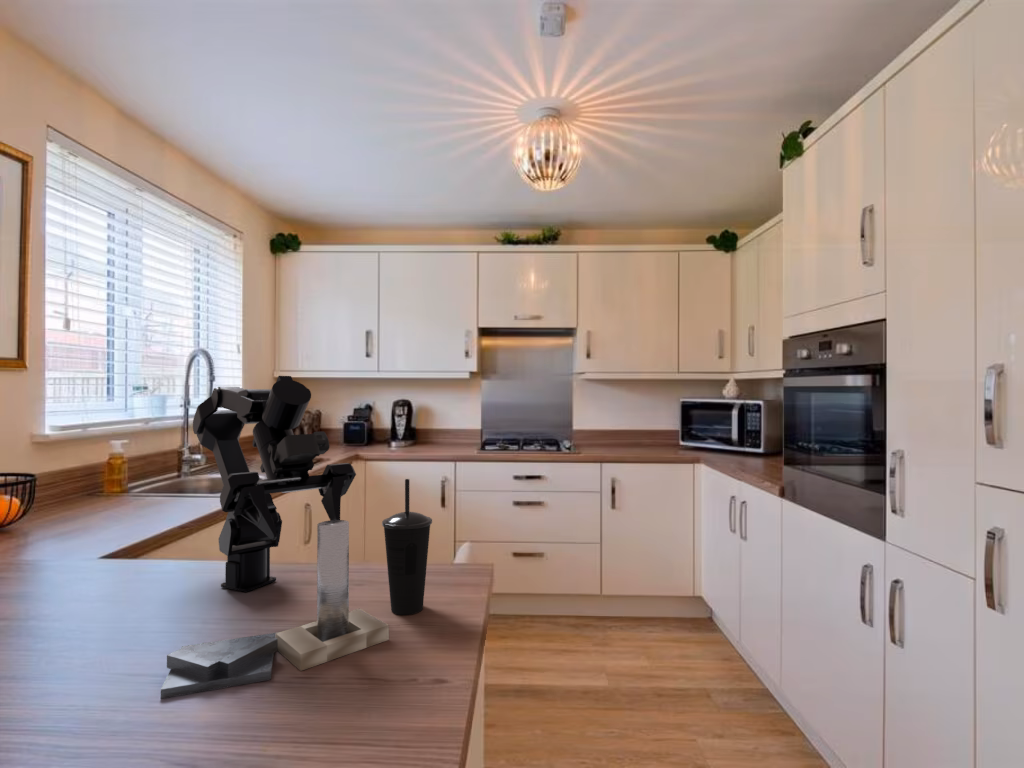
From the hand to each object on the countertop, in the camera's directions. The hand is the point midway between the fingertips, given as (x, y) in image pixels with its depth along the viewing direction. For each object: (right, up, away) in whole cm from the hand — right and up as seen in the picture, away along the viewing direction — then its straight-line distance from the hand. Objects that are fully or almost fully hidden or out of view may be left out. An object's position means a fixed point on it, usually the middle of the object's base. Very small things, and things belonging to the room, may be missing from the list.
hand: (307, 532), depth 78 cm
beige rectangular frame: (+6, -13, -6) cm, 16 cm away
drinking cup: (+13, -14, +6) cm, 20 cm away
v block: (-6, -13, -12) cm, 19 cm away
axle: (+6, -13, -6) cm, 16 cm away
